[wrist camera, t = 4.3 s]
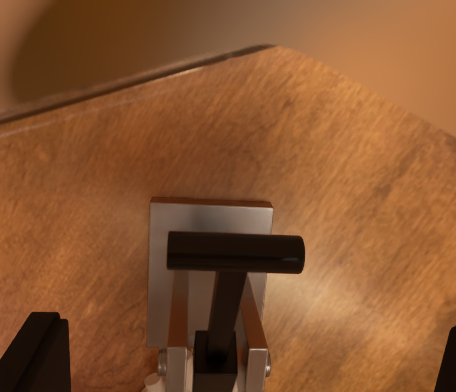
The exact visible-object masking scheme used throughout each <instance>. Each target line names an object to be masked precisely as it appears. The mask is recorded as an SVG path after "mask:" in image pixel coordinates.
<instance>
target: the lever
mask: <svg viewBox="0 0 456 392" xmlns="http://www.w3.org/2000/svg"><path fill="white" fill-rule="evenodd" d="M304 263H305V246H304V242H303V239H302V237H301V236H294V235H268V234H242V233H216V232H190V231H169V233H168V240H167V259H166V267H167V270H181V271H215V272H216V275H215V282H214V289H213V295H212V302H211V309H210V316H209V323H208V330H196V331H195V339H194V349H193V377H192V392H233V388H234V385H235V382H236V378H237V375H238V365H237V345H236V332H235V331H234V328H235V324H236V319H237V315H238V311H239V307H240V303H241V299H242V295H243V290H244V286H245V282H246V278H247V274H248V272H249V273H283V274H300V273H301V272H302V270H303V267H304Z"/></svg>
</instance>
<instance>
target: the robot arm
mask: <svg viewBox="0 0 456 392" xmlns="http://www.w3.org/2000/svg"><path fill="white" fill-rule="evenodd" d="M192 377H193V356H192V354H191V352H190V351H189V350H188V352H187V370H186V389H185V392H192ZM144 383H145V386H146V387H145V388H144V389H143V390H142V391H141V392H165V387H166V376H157V373H152V374H150V375H149V376H147V377H146V379H145V381H144ZM0 392H71V376H70V351H69V326H68V320H67V319H60V314H59V313H58V312H32V313H31V314H30V315H29V317H28V318H27V320H26V321H25V323H24V324H23V326H22V327H21V329H20V330H19V332H18V333H17V335H16V336H15V338H14V339H13V341H12V342H11V344H10V345H9V347H8V349H7V350H6V352H5V353H4V355H3V356H2V358H1V359H0ZM233 392H238V389H237V382H235V385H234V388H233ZM434 392H456V326H455V327H452V328H451V330H450V333H449V336H448V340H447V344H446V348H445V352H444V355H443V359H442V363H441V367H440V371H439V375H438V378H437V382H436V386H435V390H434Z"/></svg>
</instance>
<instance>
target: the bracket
mask: <svg viewBox="0 0 456 392" xmlns="http://www.w3.org/2000/svg"><path fill="white" fill-rule="evenodd" d="M273 212H274V208H273V206H272V204H271V203H270V202H255V201H233V200H211V199H190V198H168V197H152V198H151V200H150V207H149V252H148V297H147V342H146V347H147V348H159V352H158V364H157V376H166V387H165V392H185V389H186V370H187V352H188V348H194V339H195V331H196V330H208V323H209V316H210V309H211V302H212V295H213V289H214V282H215V275H216V272H215V271H181V270H167V267H166V259H167V240H168V233H169V231H190V232H216V233H242V234H268V235H271V231H272V222H273ZM266 278H267V273H249V272H248V274H247V278H246V282H245V286H244V290H243V295H242V299H241V303H240V307H239V311H238V315H237V319H236V324H235V328H234V331H235V332H236V345H237V365H238V375H237V378H236V382H237V389H238V392H264V385H265V377H268V376H269V375H270V370H271V359H270V353H269V349H268V345H267V342H266V338H265V335H264V331H263V327H262V316H263V306H264V297H265V287H266Z"/></svg>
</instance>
